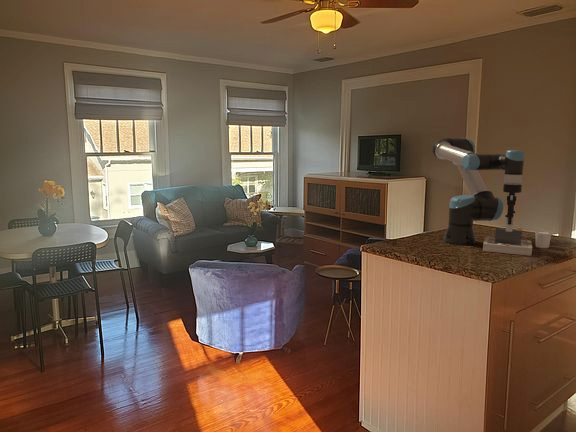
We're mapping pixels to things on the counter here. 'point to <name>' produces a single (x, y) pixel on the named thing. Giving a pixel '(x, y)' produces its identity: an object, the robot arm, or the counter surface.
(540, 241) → the shot glass
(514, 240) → the dial
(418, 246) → the counter surface
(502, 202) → the robot arm
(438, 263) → the counter surface
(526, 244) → the housing
